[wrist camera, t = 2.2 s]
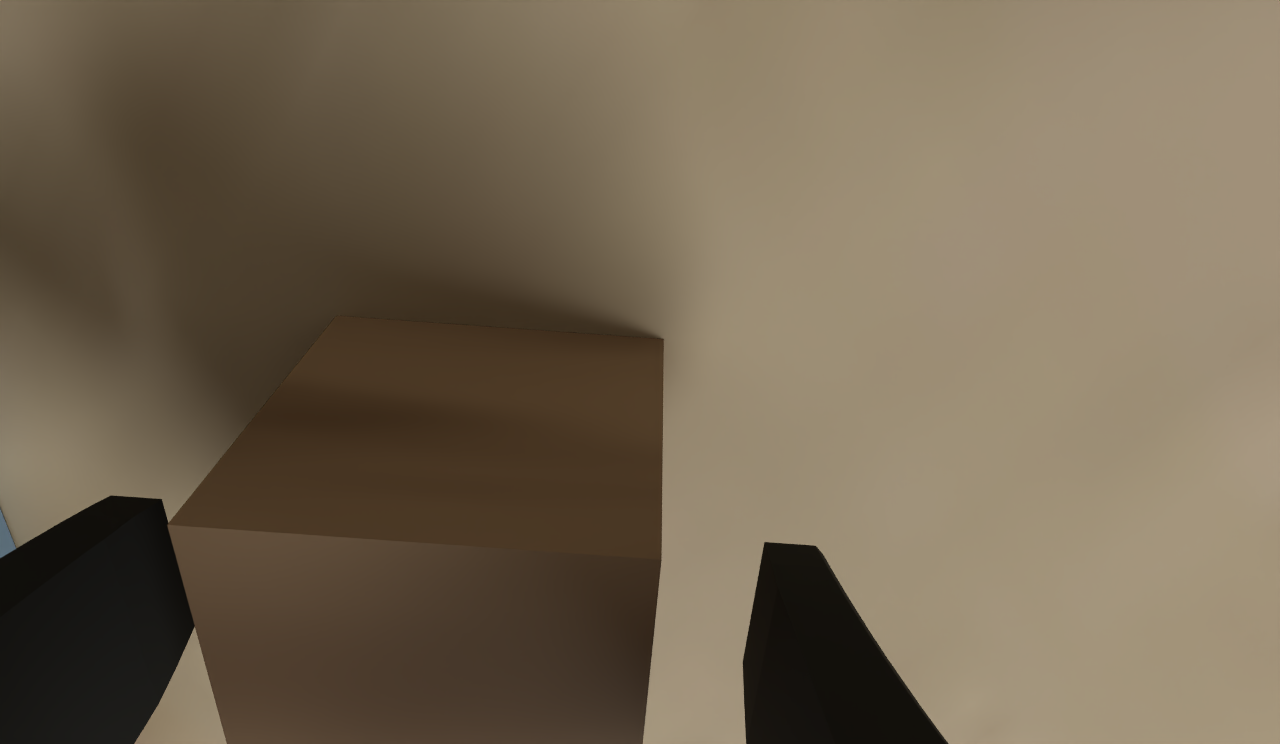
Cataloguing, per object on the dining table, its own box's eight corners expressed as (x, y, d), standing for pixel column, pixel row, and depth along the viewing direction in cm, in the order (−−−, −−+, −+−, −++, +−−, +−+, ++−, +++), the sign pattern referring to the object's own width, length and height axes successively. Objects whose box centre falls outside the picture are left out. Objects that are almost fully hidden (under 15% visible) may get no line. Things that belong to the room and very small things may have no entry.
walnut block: (641, 579, 14) (631, 849, 10) (368, 560, 14) (249, 823, 10) (663, 336, 12) (660, 559, 8) (338, 313, 11) (167, 525, 8)
